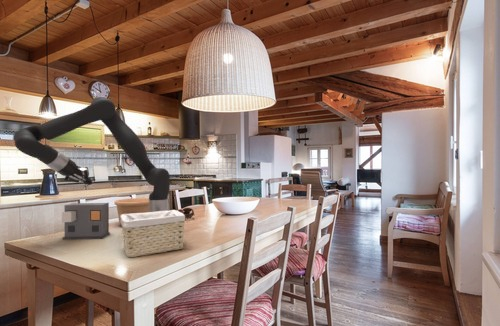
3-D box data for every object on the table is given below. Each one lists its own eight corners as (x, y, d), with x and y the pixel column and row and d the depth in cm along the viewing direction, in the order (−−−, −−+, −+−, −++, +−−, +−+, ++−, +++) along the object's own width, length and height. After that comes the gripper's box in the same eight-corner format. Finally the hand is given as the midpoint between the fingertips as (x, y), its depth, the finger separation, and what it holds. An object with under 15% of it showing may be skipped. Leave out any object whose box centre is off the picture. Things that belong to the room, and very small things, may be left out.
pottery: (106, 228, 156) (106, 202, 156) (125, 220, 178) (125, 197, 178) (145, 229, 155) (145, 202, 155) (160, 221, 177) (160, 198, 177)
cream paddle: (68, 220, 136) (68, 210, 136) (76, 219, 136) (76, 210, 136) (61, 222, 131) (61, 212, 131) (70, 222, 131) (70, 212, 131)
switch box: (72, 235, 142) (72, 203, 142) (110, 234, 143) (110, 202, 144) (62, 239, 134) (62, 205, 134) (102, 238, 135) (102, 205, 135)
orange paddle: (96, 218, 140) (96, 209, 140) (104, 218, 141) (104, 209, 141) (91, 220, 135) (91, 210, 135) (99, 220, 136) (99, 210, 136)
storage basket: (123, 260, 105) (123, 220, 105) (119, 248, 119) (119, 213, 120) (186, 250, 117) (186, 214, 117) (176, 241, 131) (176, 209, 131)
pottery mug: (196, 218, 189) (197, 208, 185) (190, 227, 181) (190, 217, 177) (179, 213, 191) (180, 203, 187) (172, 221, 183) (173, 211, 179)
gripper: (74, 152, 127) (103, 172, 140) (51, 162, 129) (81, 181, 142) (70, 165, 122) (100, 185, 135) (46, 175, 125) (77, 193, 138)
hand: (90, 183), depth 139 cm, fingers closed
